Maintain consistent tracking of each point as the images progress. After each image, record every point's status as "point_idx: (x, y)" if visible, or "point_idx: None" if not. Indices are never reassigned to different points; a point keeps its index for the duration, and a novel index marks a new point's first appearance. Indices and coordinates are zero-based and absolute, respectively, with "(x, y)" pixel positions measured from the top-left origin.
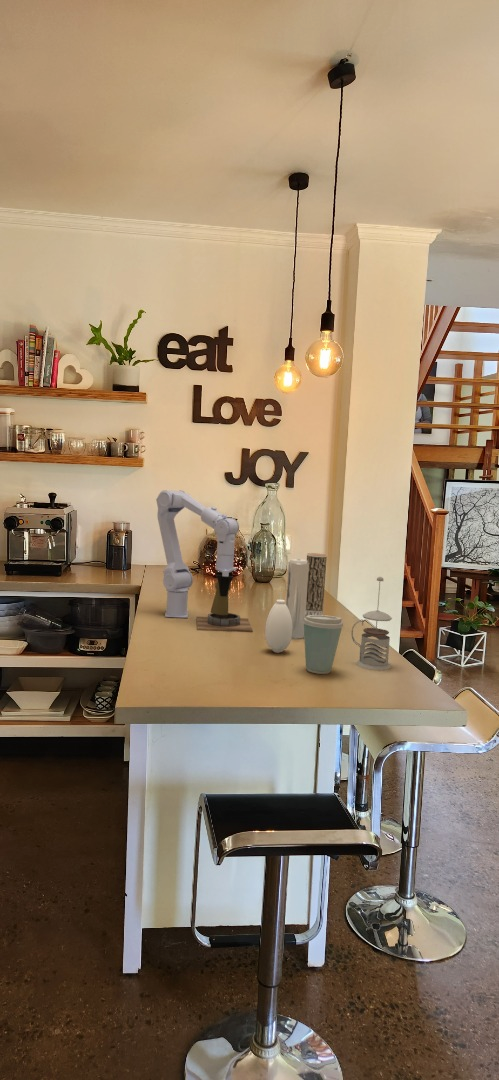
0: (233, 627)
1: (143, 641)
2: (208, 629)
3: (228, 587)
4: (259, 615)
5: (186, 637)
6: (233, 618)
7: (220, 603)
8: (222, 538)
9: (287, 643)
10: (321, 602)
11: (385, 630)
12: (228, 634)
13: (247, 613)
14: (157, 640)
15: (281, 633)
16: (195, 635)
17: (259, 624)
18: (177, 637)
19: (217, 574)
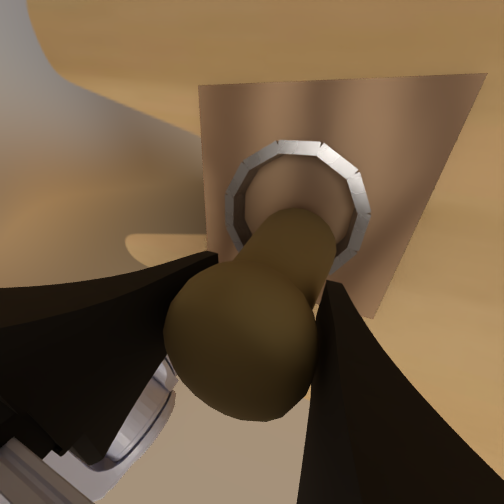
0: (382, 185)
1: (496, 469)
2: (385, 286)
3: (377, 345)
4: (105, 13)
5: (486, 377)
6: (349, 186)
7: (323, 283)
8: None
9: None
10: None
11: None
12: (491, 227)
13: (98, 79)
14: (497, 445)
15: None
16: (461, 345)
17: (278, 15)
18: (474, 395)
19: (105, 437)
